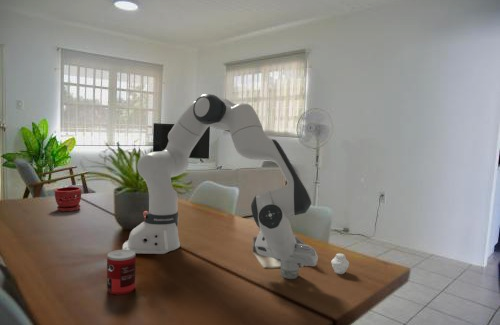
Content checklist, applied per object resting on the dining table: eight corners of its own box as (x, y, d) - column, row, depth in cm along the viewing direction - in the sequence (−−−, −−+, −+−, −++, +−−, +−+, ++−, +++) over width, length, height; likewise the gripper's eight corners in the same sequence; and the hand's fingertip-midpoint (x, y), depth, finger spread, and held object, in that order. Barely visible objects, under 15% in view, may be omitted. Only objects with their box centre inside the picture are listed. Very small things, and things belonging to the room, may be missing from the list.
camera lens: (297, 280, 115) (299, 257, 115) (279, 278, 117) (280, 255, 116) (299, 273, 121) (300, 251, 121) (281, 270, 123) (282, 249, 122)
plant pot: (65, 206, 202) (65, 185, 201) (86, 208, 200) (86, 187, 199) (49, 211, 189) (48, 189, 188) (71, 213, 187) (71, 191, 186)
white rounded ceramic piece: (329, 268, 127) (330, 249, 126) (346, 269, 127) (347, 250, 126) (332, 275, 121) (333, 256, 120) (350, 276, 121) (351, 257, 120)
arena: (263, 268, 124) (264, 250, 123) (252, 252, 139) (253, 236, 139) (310, 265, 128) (311, 248, 128) (294, 250, 144) (295, 235, 143)
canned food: (111, 283, 107) (111, 248, 106) (137, 283, 108) (138, 249, 107) (103, 295, 100) (103, 258, 99) (131, 295, 100) (132, 258, 99)
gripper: (316, 239, 107) (322, 260, 116) (256, 228, 116) (266, 248, 125) (311, 258, 103) (318, 278, 113) (249, 245, 112) (260, 264, 122)
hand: (290, 262), depth 119 cm, fingers closed on camera lens, 6 cm apart
